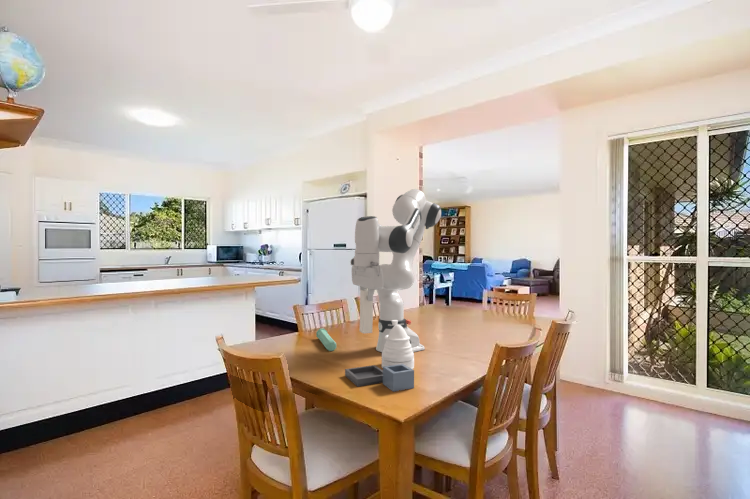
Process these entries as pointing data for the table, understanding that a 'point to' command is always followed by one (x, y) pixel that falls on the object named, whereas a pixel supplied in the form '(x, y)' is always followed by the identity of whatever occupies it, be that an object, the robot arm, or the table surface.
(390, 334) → the honey pot
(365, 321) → the peg
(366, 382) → the tray
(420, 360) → the table surface
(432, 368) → the table surface
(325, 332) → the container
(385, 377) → the socket
